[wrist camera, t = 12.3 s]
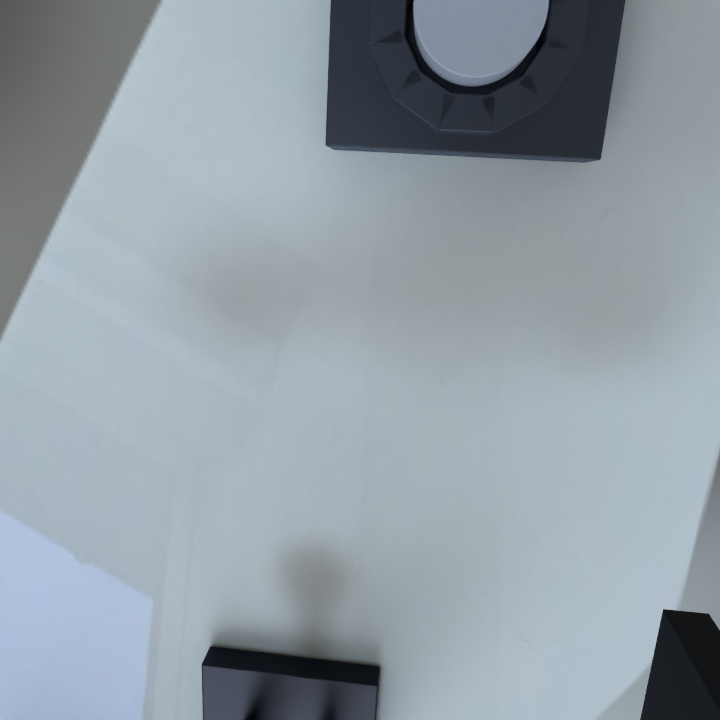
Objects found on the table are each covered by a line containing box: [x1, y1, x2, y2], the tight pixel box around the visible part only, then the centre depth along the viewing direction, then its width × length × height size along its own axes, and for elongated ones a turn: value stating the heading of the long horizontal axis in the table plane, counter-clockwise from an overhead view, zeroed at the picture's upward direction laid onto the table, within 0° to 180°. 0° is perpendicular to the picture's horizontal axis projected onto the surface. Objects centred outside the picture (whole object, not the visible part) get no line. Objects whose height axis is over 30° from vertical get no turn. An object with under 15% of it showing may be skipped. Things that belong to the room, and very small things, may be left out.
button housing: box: [326, 0, 625, 163], centre depth 21 cm, size 10×8×4 cm
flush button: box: [413, 0, 549, 87], centre depth 19 cm, size 4×4×2 cm
